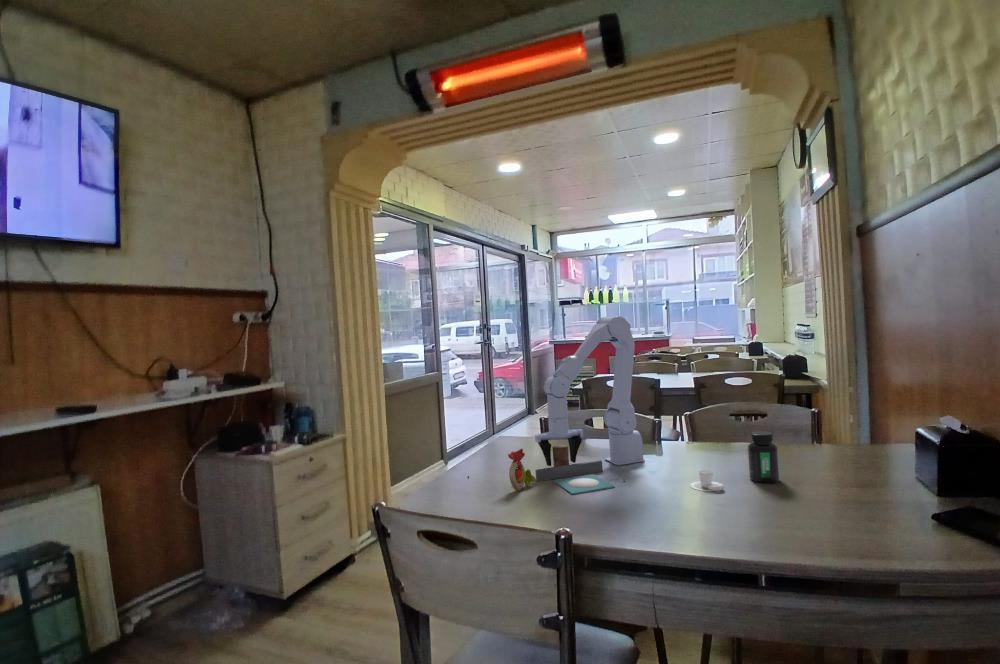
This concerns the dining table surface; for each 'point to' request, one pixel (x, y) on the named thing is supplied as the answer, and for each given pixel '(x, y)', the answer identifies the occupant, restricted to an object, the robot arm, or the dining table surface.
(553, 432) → the robot arm
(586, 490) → the mat
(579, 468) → the low wall
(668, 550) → the dining table surface
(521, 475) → the bird rattle
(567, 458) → the walnut cylinder
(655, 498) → the dining table surface
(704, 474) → the teacup and saucer
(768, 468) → the supplement bottle
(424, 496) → the dining table surface
